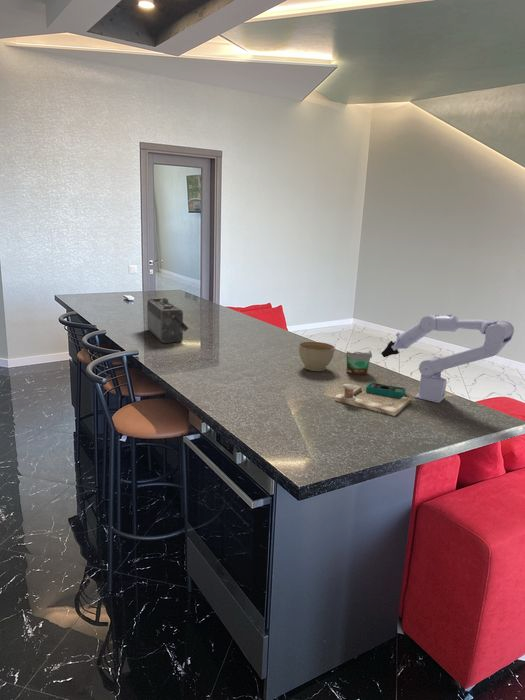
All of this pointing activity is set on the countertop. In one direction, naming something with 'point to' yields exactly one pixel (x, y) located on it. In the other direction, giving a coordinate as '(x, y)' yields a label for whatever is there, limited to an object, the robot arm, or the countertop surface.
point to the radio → (165, 320)
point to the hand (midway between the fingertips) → (386, 352)
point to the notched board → (350, 399)
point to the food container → (358, 363)
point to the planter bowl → (316, 355)
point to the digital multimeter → (385, 390)
